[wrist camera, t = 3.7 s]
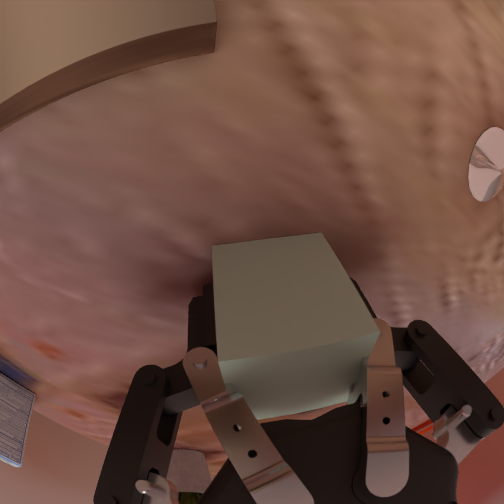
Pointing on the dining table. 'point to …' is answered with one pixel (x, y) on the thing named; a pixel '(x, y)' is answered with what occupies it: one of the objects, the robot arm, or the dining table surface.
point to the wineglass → (487, 165)
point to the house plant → (189, 474)
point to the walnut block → (90, 44)
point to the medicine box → (14, 420)
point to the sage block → (288, 323)
